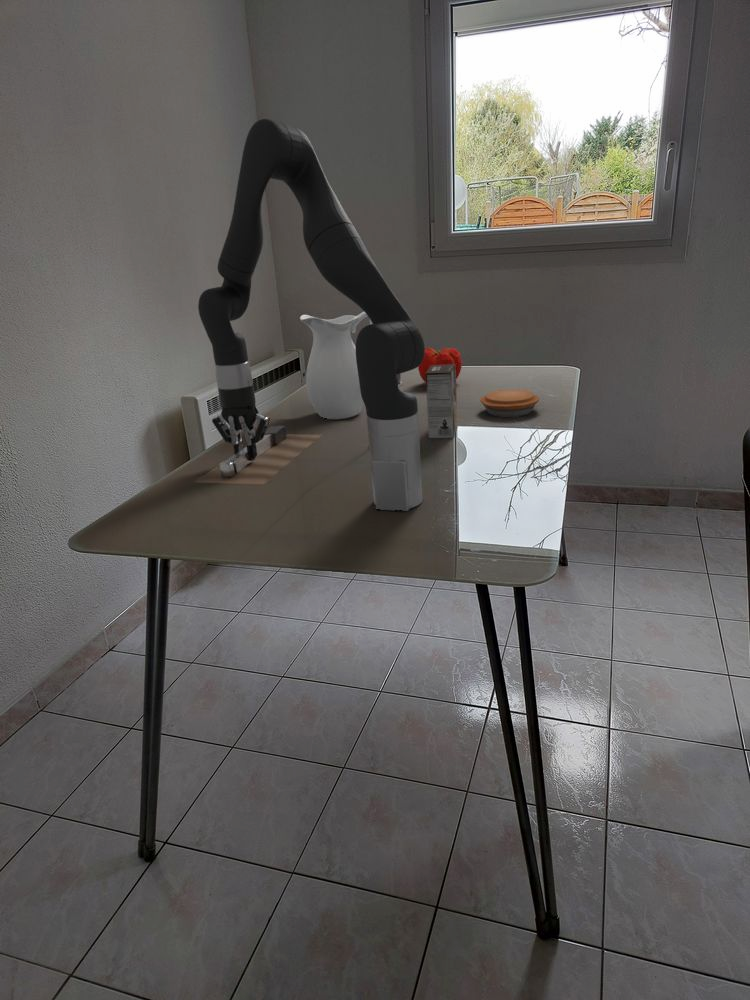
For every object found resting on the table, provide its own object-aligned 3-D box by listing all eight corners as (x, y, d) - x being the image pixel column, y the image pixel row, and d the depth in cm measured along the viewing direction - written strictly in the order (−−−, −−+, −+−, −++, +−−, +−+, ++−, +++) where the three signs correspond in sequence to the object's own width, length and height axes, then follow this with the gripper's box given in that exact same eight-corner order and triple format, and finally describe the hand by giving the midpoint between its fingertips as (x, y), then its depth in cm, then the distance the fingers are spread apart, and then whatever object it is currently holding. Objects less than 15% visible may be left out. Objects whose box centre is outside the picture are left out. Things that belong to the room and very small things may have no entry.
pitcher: (316, 426, 179) (304, 320, 168) (304, 411, 194) (293, 313, 183) (400, 413, 184) (394, 309, 174) (383, 400, 200) (376, 304, 189)
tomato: (415, 389, 209) (413, 352, 205) (425, 379, 222) (424, 343, 217) (457, 389, 205) (456, 351, 201) (465, 379, 218) (464, 342, 213)
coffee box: (432, 427, 170) (430, 364, 163) (457, 427, 168) (456, 363, 162) (428, 438, 161) (425, 372, 155) (454, 438, 160) (452, 371, 154)
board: (263, 491, 136) (262, 484, 136) (195, 488, 141) (193, 482, 140) (322, 440, 166) (321, 434, 166) (264, 439, 171) (263, 434, 170)
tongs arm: (240, 472, 143) (238, 459, 142) (233, 472, 144) (230, 459, 143) (286, 437, 165) (285, 426, 164) (279, 437, 166) (278, 425, 165)
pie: (510, 401, 188) (510, 383, 186) (551, 411, 176) (552, 392, 174) (468, 412, 181) (467, 394, 179) (508, 423, 168) (508, 404, 167)
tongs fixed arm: (231, 478, 141) (228, 465, 139) (217, 478, 141) (214, 465, 140) (285, 438, 165) (283, 426, 164) (273, 437, 166) (271, 426, 165)
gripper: (197, 387, 142) (211, 464, 149) (256, 387, 138) (267, 466, 145) (215, 379, 149) (227, 453, 155) (271, 379, 145) (282, 454, 151)
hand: (247, 459), depth 150 cm, fingers closed
